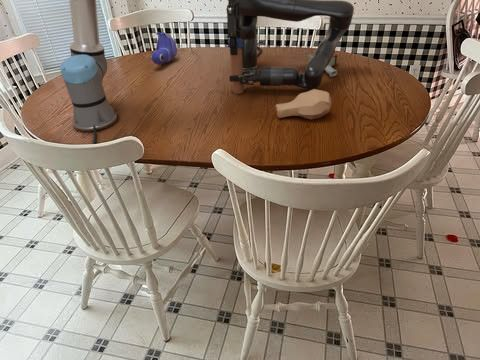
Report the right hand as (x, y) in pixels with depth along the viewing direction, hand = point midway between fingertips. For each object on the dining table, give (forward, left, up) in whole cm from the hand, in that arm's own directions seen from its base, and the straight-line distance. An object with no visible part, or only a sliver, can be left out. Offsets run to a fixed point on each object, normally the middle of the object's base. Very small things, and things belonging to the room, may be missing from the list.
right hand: (231, 76), depth 147 cm
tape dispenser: (-28, +39, -7) cm, 48 cm away
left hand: (0, +3, +10) cm, 10 cm away
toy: (-35, -42, -7) cm, 55 cm away
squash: (+22, +30, -7) cm, 38 cm away
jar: (0, +3, -7) cm, 7 cm away
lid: (0, +3, +14) cm, 14 cm away
